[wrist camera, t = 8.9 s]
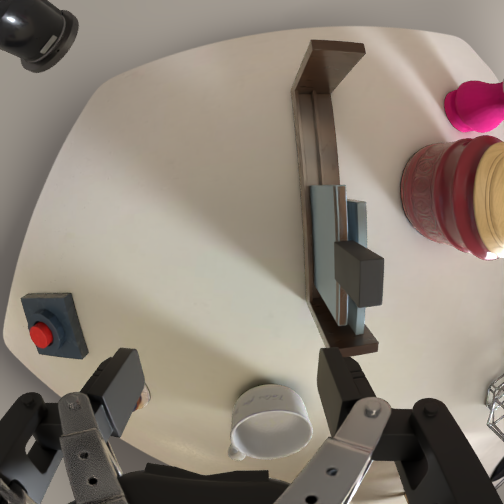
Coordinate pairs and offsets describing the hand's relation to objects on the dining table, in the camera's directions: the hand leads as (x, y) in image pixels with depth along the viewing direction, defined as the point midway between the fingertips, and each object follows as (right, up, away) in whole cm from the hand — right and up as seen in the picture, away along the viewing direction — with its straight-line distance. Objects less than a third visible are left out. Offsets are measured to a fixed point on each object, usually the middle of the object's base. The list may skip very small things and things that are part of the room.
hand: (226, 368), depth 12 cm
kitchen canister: (+26, +13, +21) cm, 36 cm away
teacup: (+2, -18, +29) cm, 34 cm away
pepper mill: (+31, +25, +19) cm, 44 cm away
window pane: (+8, +7, +21) cm, 24 cm away
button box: (-30, -6, +26) cm, 40 cm away
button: (-30, -7, +22) cm, 38 cm away
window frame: (+9, +12, +22) cm, 26 cm away
